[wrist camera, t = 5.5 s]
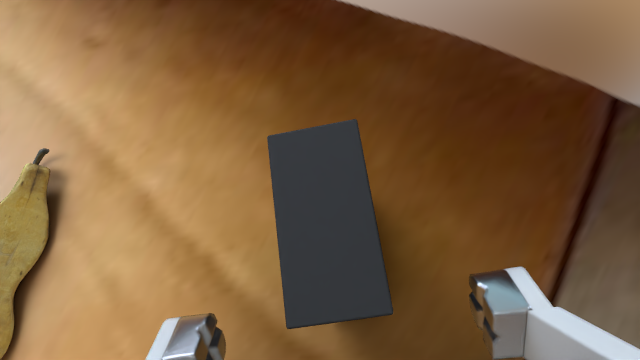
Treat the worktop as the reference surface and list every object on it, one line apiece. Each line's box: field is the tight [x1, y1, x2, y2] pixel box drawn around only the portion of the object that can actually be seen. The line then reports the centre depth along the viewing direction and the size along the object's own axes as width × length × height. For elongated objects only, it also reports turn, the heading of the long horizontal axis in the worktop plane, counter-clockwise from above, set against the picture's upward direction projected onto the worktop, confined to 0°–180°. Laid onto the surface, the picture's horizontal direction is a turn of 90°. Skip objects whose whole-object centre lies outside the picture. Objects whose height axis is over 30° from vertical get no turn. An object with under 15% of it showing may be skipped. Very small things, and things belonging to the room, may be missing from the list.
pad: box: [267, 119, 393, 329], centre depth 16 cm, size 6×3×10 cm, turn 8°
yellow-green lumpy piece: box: [0, 148, 50, 359], centre depth 23 cm, size 3×14×3 cm
